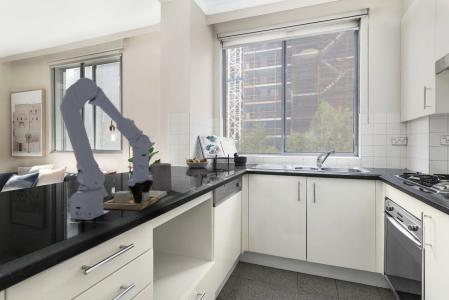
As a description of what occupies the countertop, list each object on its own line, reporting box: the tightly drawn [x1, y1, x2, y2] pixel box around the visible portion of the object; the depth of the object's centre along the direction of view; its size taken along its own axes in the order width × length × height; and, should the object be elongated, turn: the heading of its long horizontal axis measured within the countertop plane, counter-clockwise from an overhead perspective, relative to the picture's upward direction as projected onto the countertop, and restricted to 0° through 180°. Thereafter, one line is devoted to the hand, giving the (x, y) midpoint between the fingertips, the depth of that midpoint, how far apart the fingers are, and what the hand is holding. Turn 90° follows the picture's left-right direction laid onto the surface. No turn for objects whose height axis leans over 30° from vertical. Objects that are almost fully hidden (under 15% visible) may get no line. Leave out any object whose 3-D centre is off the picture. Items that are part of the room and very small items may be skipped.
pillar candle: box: [150, 162, 172, 193], centre depth 119 cm, size 10×10×15 cm
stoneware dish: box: [131, 190, 168, 200], centre depth 104 cm, size 11×11×2 cm
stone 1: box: [113, 190, 131, 204], centre depth 92 cm, size 4×4×4 cm
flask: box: [102, 183, 109, 199], centre depth 105 cm, size 7×7×10 cm
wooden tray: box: [103, 194, 159, 211], centre depth 92 cm, size 14×15×2 cm
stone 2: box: [133, 192, 149, 204], centre depth 91 cm, size 4×4×4 cm
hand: (141, 201), depth 91 cm, fingers closed on stone 2, 4 cm apart
